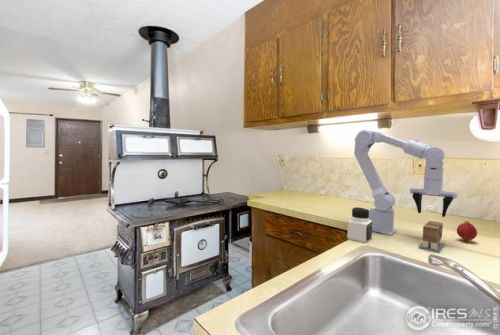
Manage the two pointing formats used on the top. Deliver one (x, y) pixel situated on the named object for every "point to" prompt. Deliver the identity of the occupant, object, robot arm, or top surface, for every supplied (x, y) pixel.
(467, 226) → the onion
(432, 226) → the wooden block
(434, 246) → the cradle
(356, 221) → the medicine bottle
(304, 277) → the top surface
